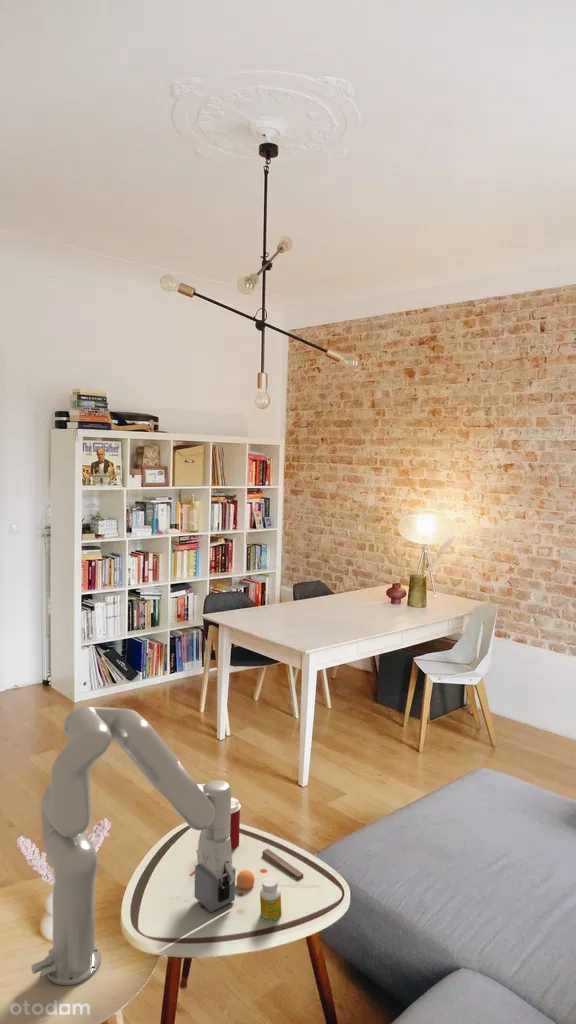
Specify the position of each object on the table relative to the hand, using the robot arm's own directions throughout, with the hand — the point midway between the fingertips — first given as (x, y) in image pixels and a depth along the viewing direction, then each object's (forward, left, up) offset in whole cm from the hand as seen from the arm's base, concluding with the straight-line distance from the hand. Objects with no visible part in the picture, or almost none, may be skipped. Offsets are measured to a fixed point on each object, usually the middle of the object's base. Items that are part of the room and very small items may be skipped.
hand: (214, 891), depth 182 cm
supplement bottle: (+9, -14, -4) cm, 16 cm away
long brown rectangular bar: (+24, 0, -3) cm, 24 cm away
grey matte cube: (0, 0, -2) cm, 2 cm away
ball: (+10, 0, -1) cm, 10 cm away
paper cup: (+19, +19, -3) cm, 27 cm away
